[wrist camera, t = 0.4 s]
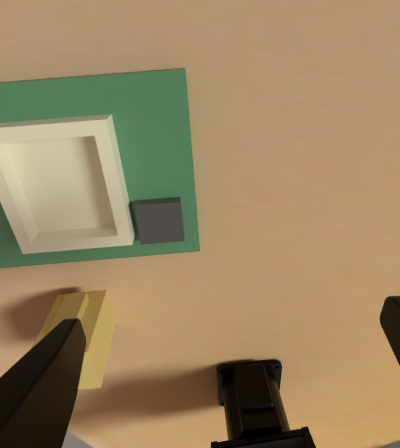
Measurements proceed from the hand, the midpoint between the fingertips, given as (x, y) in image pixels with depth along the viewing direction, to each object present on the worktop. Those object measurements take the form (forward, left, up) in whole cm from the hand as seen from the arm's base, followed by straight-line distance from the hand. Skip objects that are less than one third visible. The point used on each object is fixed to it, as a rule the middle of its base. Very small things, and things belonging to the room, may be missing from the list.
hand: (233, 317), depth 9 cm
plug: (-12, +11, -14) cm, 21 cm away
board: (0, +9, -13) cm, 16 cm away
